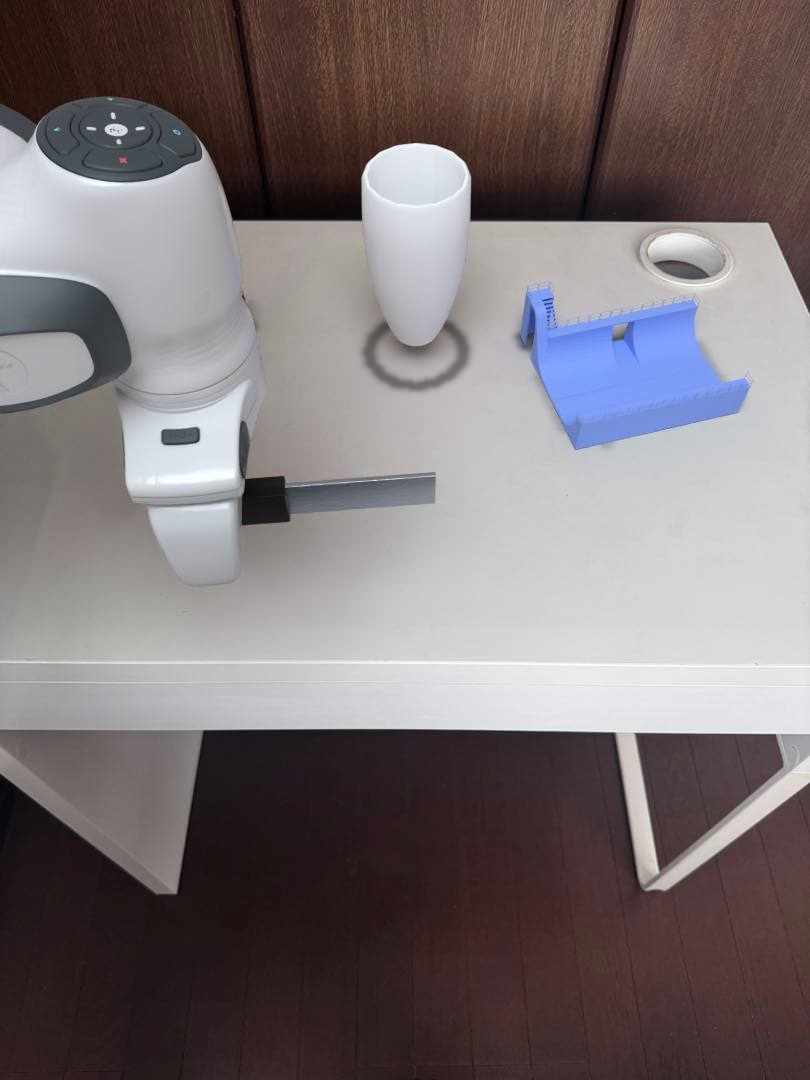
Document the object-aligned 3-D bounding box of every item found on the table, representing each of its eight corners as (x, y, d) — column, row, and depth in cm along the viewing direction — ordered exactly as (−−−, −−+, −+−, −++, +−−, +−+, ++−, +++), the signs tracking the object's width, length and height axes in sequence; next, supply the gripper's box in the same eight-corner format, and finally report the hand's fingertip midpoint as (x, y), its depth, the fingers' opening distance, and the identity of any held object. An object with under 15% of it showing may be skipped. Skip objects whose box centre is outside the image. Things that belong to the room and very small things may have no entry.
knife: (183, 530, 65) (172, 503, 62) (184, 510, 66) (174, 483, 63) (436, 511, 66) (437, 483, 63) (433, 491, 67) (434, 464, 64)
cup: (352, 370, 94) (337, 194, 76) (390, 307, 99) (385, 129, 81) (442, 397, 91) (450, 223, 73) (477, 332, 97) (491, 154, 78)
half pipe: (575, 449, 87) (587, 401, 81) (519, 337, 96) (526, 285, 90) (738, 412, 90) (761, 362, 84) (670, 305, 99) (686, 253, 93)
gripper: (150, 262, 58) (194, 402, 70) (122, 513, 47) (179, 629, 59) (245, 257, 59) (273, 396, 70) (238, 505, 48) (272, 622, 59)
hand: (230, 504), depth 64 cm, fingers closed on knife, 2 cm apart
